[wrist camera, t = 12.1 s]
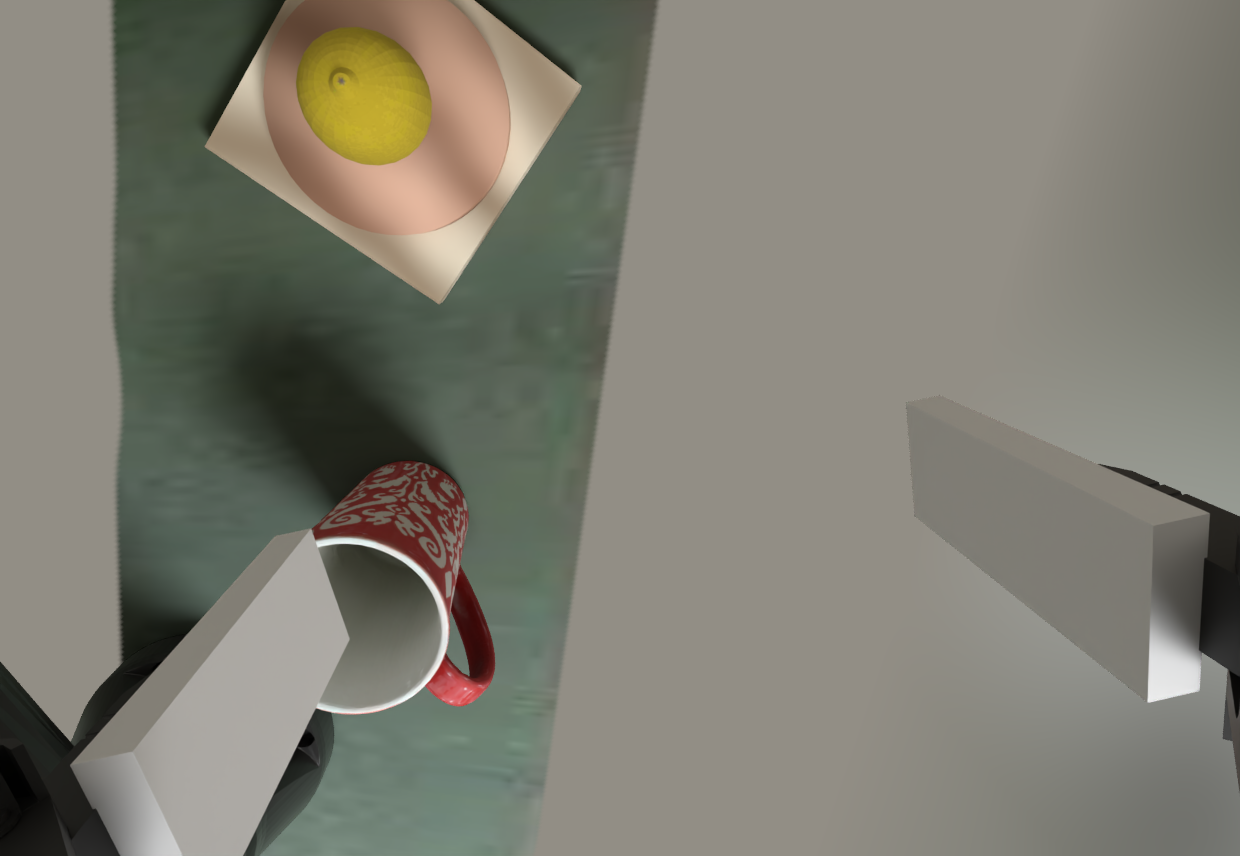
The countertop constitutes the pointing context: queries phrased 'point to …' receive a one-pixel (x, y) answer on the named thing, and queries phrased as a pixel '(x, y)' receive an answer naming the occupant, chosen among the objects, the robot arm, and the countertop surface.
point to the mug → (402, 591)
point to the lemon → (364, 96)
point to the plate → (434, 172)
